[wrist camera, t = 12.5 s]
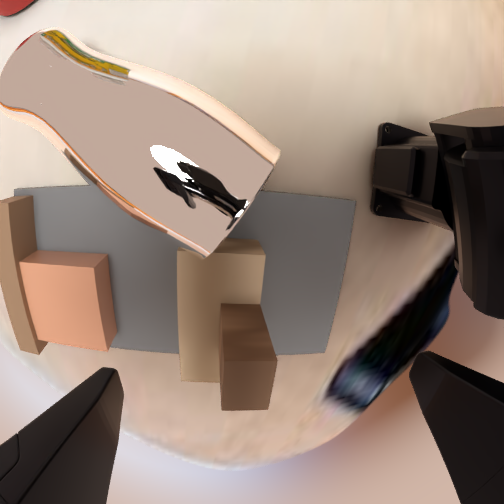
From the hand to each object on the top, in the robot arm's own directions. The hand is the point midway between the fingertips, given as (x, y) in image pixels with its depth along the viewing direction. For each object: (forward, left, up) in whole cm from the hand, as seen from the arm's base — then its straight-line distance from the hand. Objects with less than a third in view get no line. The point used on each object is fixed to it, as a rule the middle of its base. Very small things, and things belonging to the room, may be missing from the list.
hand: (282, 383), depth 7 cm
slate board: (+5, +2, -12) cm, 13 cm away
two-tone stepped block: (+1, +4, -11) cm, 12 cm away
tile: (+12, +4, -12) cm, 17 cm away
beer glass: (+14, -11, -9) cm, 20 cm away
